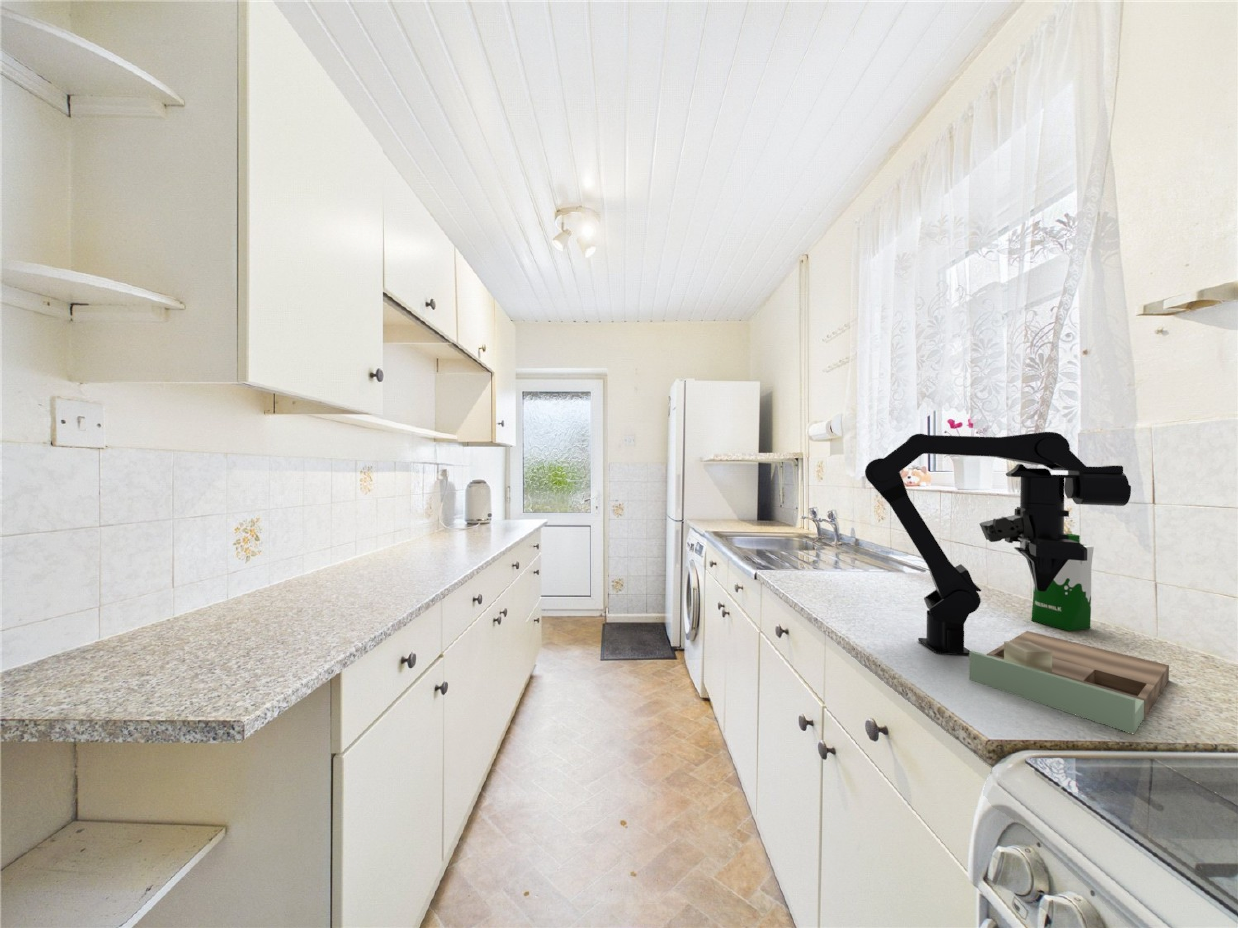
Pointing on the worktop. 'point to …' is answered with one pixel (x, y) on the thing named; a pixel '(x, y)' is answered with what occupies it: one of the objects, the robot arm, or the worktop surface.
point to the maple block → (1028, 655)
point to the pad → (1058, 692)
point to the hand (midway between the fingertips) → (1040, 590)
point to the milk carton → (1066, 595)
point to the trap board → (1100, 667)
